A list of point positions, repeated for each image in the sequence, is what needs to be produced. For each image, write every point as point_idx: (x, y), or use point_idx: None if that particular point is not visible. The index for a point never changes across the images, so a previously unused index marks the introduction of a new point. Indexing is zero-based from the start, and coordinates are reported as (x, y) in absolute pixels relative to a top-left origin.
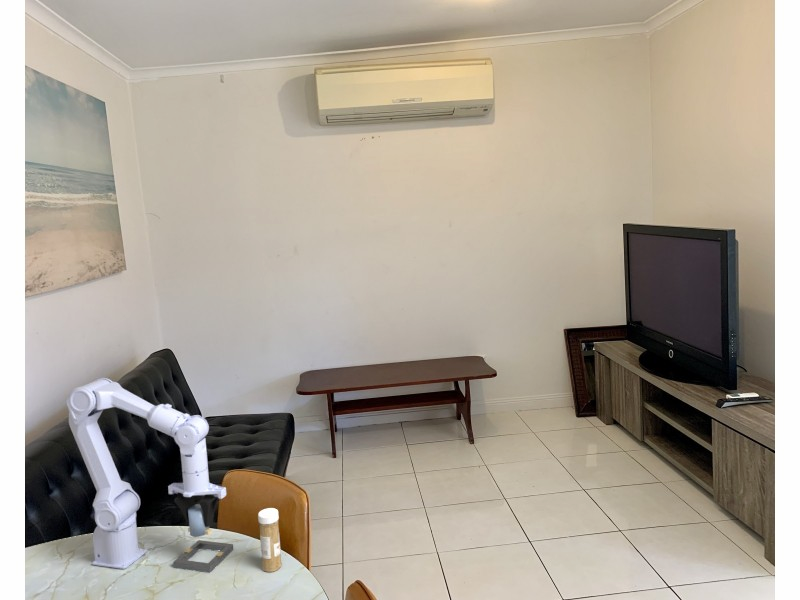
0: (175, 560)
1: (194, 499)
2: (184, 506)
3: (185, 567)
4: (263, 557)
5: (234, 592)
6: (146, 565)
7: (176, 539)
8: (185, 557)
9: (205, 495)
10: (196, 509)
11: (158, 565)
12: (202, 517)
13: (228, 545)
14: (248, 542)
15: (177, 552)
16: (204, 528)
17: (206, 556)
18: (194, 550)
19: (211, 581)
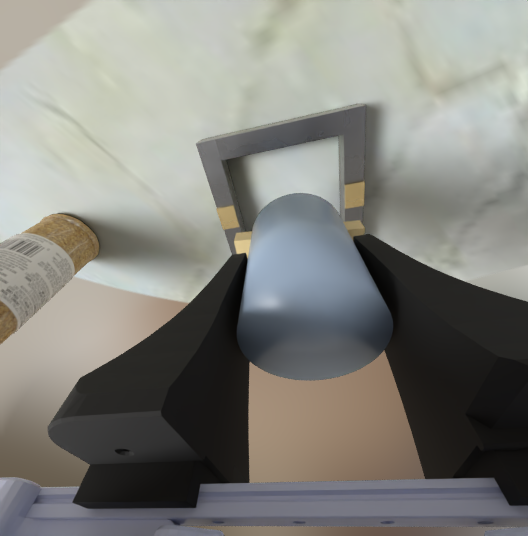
0: (363, 119)
1: (402, 401)
2: (428, 314)
3: (304, 117)
4: (33, 234)
5: (13, 72)
6: (497, 64)
7: (455, 247)
8: (342, 162)
9: (172, 502)
10: (303, 321)
11: (437, 90)
12: (245, 282)
13: None
14: None
15: (408, 192)
16: (250, 244)
17: None
18: (343, 212)
19: (150, 94)
